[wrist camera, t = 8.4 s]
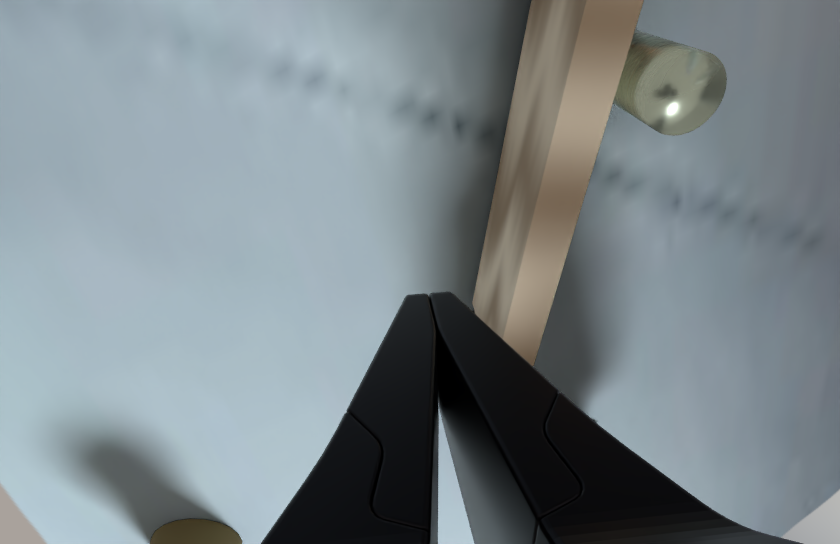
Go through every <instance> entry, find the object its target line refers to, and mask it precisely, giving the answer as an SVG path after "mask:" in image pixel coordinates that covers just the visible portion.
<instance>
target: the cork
mask: <svg viewBox="0 0 840 544" xmlns="http://www.w3.org/2000/svg"><path fill="white" fill-rule="evenodd" d="M150 544H242V540H241V538H240V536H239V534H238V533H236V532H235V531H234V530H233V529H232V528H230V527H228V526H226V525H223V524H221V523H219V522H214V521H210V520H205V519H185V520H178V521H174V522H171V523H168V524H165V525H163V526H162V527H160V528H159V529H157V530H156V531H155V532H154V534H153V536H152V538H151V541H150Z"/></svg>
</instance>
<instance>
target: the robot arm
mask: <svg viewBox="0 0 840 544" xmlns="http://www.w3.org/2000/svg"><path fill="white" fill-rule="evenodd" d="M438 403H439V409H440V413H441V417H442V422H443V425H444V429H445V433H446V437H447V441H448V444H449V448H450V452H451V456H452V460H453V463H454V467H455V471H456V475H457V479H458V482H459V486H460V490H461V494H462V498H463V501H464V505H465V509H466V513H467V517H468V520H469V524H470V528H471V532H472V536H473V539H474V543H475V544H802V543H799V542H795V541H791V540H787V539H783V538H779V537H776V536H772V535H768V534H764V533H761V532H758V531H755V530H752V529H749V528H747V527H744V526H742V525H740V524H738V523H736V522H734V521H732V520H730V519H728V518H726V517H724V516H722V515H721V514H719V513H717V512H716V511H714V510H712V509H711V508H709V507H708V506H707V505H705V504H704V503H702V502H701V501H699V500H698V499H697V498H695V497H694V496H693V495H691V494H690V493H688V492H687V491H686V490H684V489H683V488H682V487H680V486H679V485H678V484H676V483H675V482H674V481H672V480H671V479H670V478H668V477H667V476H665V475H664V474H663V473H661V472H660V471H659V470H657V469H656V468H655V467H653V466H652V465H651V464H649V463H648V462H646V461H645V460H644V459H642V458H641V457H640V456H638V455H637V454H636V453H634V452H633V451H632V450H630V449H629V448H628V447H626V446H625V445H624V444H622V443H621V442H620V441H618V440H617V439H616V438H615V437H613V436H612V435H611V434H609V433H608V432H607V431H606V430H604V429H603V428H602V427H600V426H599V425H598V424H597V423H596V422H595V421H593V420H592V419H591V418H590V417H589V416H588V415H586V414H585V413H584V412H583V411H582V410H581V409H579V408H578V407H577V406H576V405H575V404H574V403H573V402H572V401H570V400H569V399H568V398H567V397H566V396H565V395H564V394H563V393H559V390H558V389H557V388H556V387H555V386H554V385H553V384H551V383H550V382H549V381H548V380H547V379H546V378H545V377H544V376H543V375H542V374H540V373H539V372H538V371H537V370H536V369H535V368H534V367H533V366H532V365H531V364H529V363H528V362H527V361H526V360H525V359H524V358H523V357H522V356H521V355H520V354H518V353H517V352H516V351H515V350H514V349H513V348H512V347H511V346H510V345H509V344H508V343H506V342H505V341H504V340H503V339H502V338H501V337H500V336H499V335H498V334H497V333H495V332H494V331H493V330H492V329H491V328H490V327H489V326H488V325H487V324H486V323H484V322H483V321H482V320H481V319H480V318H479V317H478V316H477V315H476V314H475V313H473V312H472V311H471V310H470V309H469V308H468V307H467V306H466V305H465V304H464V303H462V302H461V301H460V300H459V299H458V298H457V297H456V296H455V295H454V294H453V293H451V292H438V293H431V294H430V295H429V296H428V295H427V294H413V295H407V296H406V297H405V299H404V301H403V303H402V305H401V307H400V308H399V310H398V312H397V314H396V316H395V318H394V320H393V322H392V324H391V326H390V328H389V330H388V332H387V334H386V335H385V337H384V339H383V341H382V343H381V345H380V347H379V349H378V351H377V353H376V355H375V357H374V359H373V361H372V362H371V364H370V366H369V368H368V370H367V372H366V374H365V376H364V378H363V380H362V382H361V384H360V386H359V388H358V389H357V391H356V393H355V395H354V397H353V399H352V401H351V403H350V405H349V407H348V409H347V413H345V414H344V416H343V418H342V420H341V422H340V424H339V426H338V428H337V430H336V431H335V433H334V435H333V437H332V438H331V440H330V442H329V444H328V445H327V447H326V449H325V451H324V453H323V454H322V456H321V457H320V459H319V460H318V462H317V463H316V465H315V466H314V468H313V469H312V471H311V472H310V474H309V475H308V477H307V478H306V480H305V482H304V483H303V484H302V486H301V487H300V489H299V490H298V491H297V493H296V494H295V496H294V497H293V499H292V500H291V501H290V503H289V504H288V506H287V507H286V509H285V510H284V511H283V513H282V514H281V516H280V517H279V518H278V520H277V521H276V523H275V524H274V526H273V527H272V528H271V530H270V531H269V533H268V534H267V536H266V537H265V538H264V540H263V541H262V543H261V544H438V434H439V415H438Z"/></svg>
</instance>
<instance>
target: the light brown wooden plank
mask: <svg viewBox="0 0 840 544" xmlns="http://www.w3.org/2000/svg"><path fill="white" fill-rule="evenodd" d="M643 1H644V0H531V5H530V10H529V15H528V21H527V26H526V31H525V36H524V41H523V46H522V51H521V56H520V62H519V67H518V72H517V77H516V82H515V87H514V92H513V97H512V102H511V108H510V113H509V118H508V123H507V128H506V133H505V138H504V143H503V149H502V154H501V159H500V164H499V169H498V174H497V179H496V184H495V189H494V195H493V200H492V205H491V210H490V215H489V220H488V225H487V230H486V236H485V241H484V246H483V251H482V256H481V261H480V266H479V271H478V276H477V282H476V287H475V292H474V297H473V302H472V304H473V307H474V310H475V314H476V315H477V316H478V317H479V318H480V319H481V320H482V321H483V322H484V323H486V324H487V325H488V326H489V327H490V328H491V329H492V330H493V331H494V332H495V333H497V334H498V335H499V336H500V337H501V338H502V339H503V340H504V341H505V342H506V343H508V344H509V345H510V346H511V347H512V348H513V349H514V350H515V351H516V352H517V353H518V354H520V355H521V356H522V357H523V358H524V359H525V360H526V361H527V362H528V363H529V364H531V365H532V366H534V362H535V359H536V356H537V353H538V349H539V346H540V343H541V339H542V336H543V333H544V329H545V326H546V323H547V319H548V316H549V313H550V309H551V306H552V303H553V299H554V296H555V293H556V290H557V286H558V283H559V280H560V276H561V273H562V270H563V266H564V263H565V260H566V256H567V253H568V250H569V246H570V243H571V240H572V236H573V233H574V230H575V227H576V223H577V220H578V217H579V213H580V210H581V207H582V203H583V200H584V197H585V193H586V190H587V187H588V183H589V180H590V177H591V174H592V170H593V167H594V164H595V160H596V157H597V154H598V150H599V147H600V144H601V140H602V137H603V134H604V130H605V127H606V124H607V120H608V117H609V114H610V111H611V107H612V104H613V101H614V97H615V94H616V91H617V87H618V84H619V81H620V77H621V74H622V71H623V67H624V64H625V61H626V57H627V54H628V51H629V48H630V44H631V41H632V38H633V34H634V31H635V28H636V24H637V21H638V18H639V14H640V11H641V8H642V4H643Z"/></svg>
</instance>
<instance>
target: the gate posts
mask: <svg viewBox="0 0 840 544" xmlns="http://www.w3.org/2000/svg"><path fill="white" fill-rule="evenodd" d="M726 80H727V78H726V72H725V68H724V66H723V64H722V62H721V61H720V60H719V59H718V58H717V57H716V56H715V55H713V54H711V53H709V52H705V51H702V50H699V49H696V48H693V47H689V46H686V45H683V44H680V43H676V42H673V41H670V40H667V39H663V38H660V37H657V36H654V35H650V34H647V33H644V32H641V31H637V30H635V31H634V34H633V38H632V41H631V44H630V48H629V51H628V54H627V57H626V61H625V64H624V67H623V71H622V74H621V77H620V81H619V84H618V87H617V91H616V94H615V97H614V101H613V104H615V105H616V106H618V107H620V108H621V109H623V110H624V111H626V112H628V113H629V114H631V115H632V116H634V117H635V118H637V119H639V120H640V121H642V122H643V123H645V124H647V125H648V126H650V127H651V128H653V129H654V130H656V131H658V132H659V133H662V134H665V135H673V136H674V135H681V134H685V133H688V132H691V131H693V130H695V129H696V128H698V127H700V126H701V125H702V124H704V123H705V122H706V121H707V120H708V119H709V118H710V117H711V116H712V115H713V114H714V112H715V111H716V110H717V108H718V106H719V105H720V103H721V101H722V99H723V96H724V93H725V89H726ZM473 313H475V311H474V312H473Z"/></svg>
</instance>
